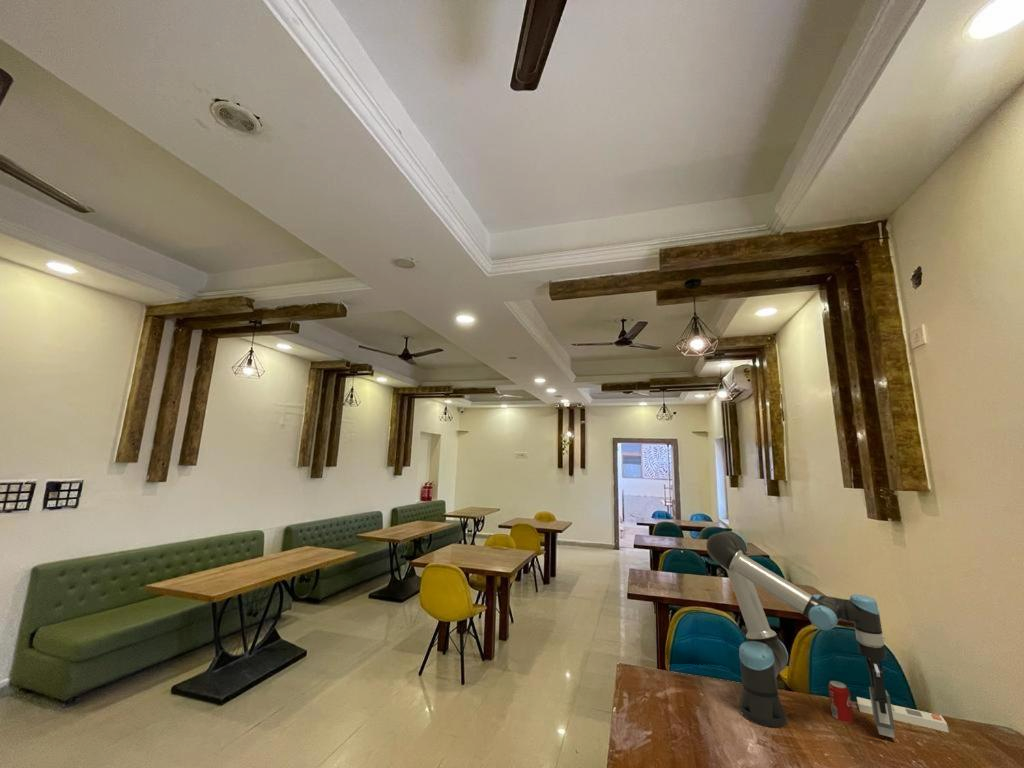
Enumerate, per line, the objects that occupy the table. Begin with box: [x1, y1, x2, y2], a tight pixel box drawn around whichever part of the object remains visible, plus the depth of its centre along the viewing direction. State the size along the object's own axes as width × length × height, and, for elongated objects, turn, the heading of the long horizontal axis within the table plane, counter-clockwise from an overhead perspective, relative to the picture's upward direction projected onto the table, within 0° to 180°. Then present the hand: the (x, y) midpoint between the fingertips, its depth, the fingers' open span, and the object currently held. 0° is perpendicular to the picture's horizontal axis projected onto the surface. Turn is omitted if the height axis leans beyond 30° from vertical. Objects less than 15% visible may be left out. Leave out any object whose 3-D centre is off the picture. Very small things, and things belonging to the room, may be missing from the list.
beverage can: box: [827, 680, 854, 724], centre depth 154 cm, size 6×6×12 cm
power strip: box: [851, 696, 950, 733], centre depth 154 cm, size 27×6×4 cm, turn 58°
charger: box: [868, 686, 896, 739], centre depth 143 cm, size 5×5×13 cm
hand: (883, 718), depth 143 cm, fingers closed on charger, 5 cm apart
